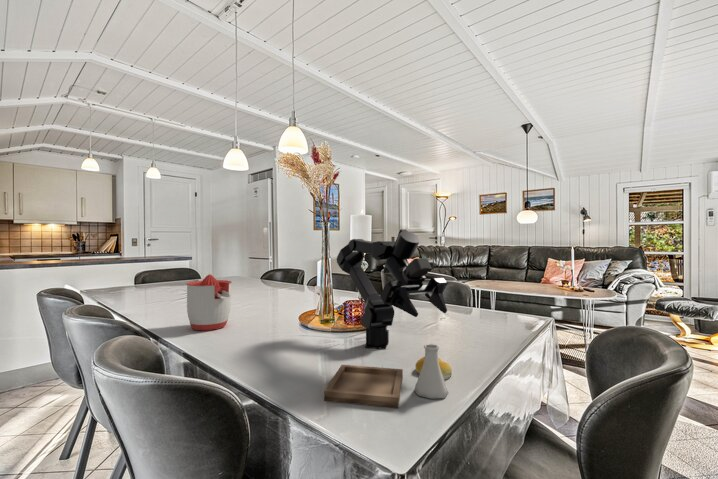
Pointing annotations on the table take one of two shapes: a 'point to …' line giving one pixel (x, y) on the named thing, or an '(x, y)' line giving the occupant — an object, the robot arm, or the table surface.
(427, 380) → the flask
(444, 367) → the bread roll
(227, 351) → the table surface
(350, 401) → the walnut tray
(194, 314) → the citrus juicer
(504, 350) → the table surface
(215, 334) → the table surface
